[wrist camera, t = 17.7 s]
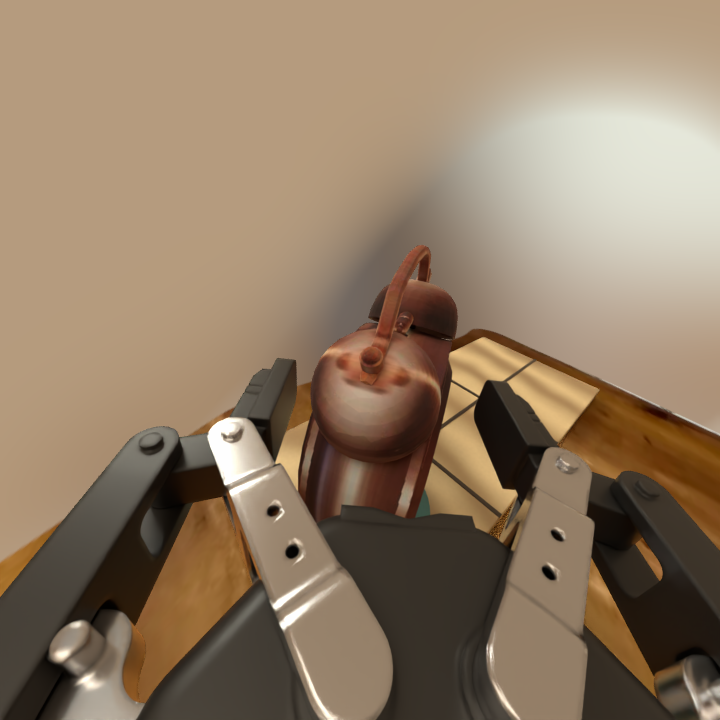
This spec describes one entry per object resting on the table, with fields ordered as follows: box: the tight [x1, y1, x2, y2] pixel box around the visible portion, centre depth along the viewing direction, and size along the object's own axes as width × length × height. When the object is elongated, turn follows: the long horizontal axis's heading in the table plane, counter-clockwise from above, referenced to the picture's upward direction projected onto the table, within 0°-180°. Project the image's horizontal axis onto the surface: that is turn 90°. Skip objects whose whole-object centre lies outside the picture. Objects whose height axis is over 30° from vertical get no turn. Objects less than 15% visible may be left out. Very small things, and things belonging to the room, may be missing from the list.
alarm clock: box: [298, 245, 458, 523], centre depth 15 cm, size 11×5×15 cm, turn 160°
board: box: [275, 337, 599, 534], centre depth 27 cm, size 34×14×1 cm, turn 131°
